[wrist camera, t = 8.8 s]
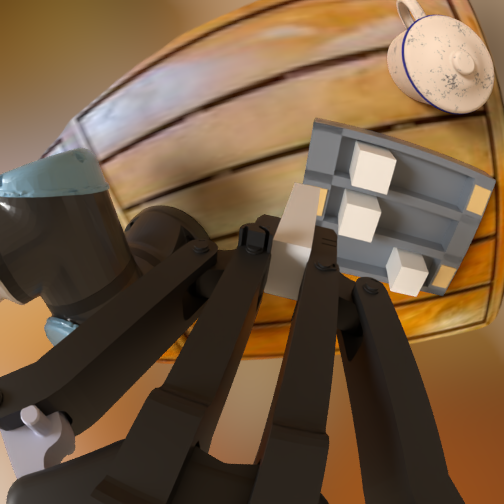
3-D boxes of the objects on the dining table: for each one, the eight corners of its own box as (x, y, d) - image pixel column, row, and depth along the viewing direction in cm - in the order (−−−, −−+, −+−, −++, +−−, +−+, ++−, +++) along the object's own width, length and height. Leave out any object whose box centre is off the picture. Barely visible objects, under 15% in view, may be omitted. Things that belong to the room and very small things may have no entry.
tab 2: (338, 213, 34) (338, 234, 30) (345, 185, 32) (347, 203, 28) (367, 221, 33) (371, 242, 29) (375, 193, 31) (381, 212, 27)
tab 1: (349, 170, 30) (351, 185, 26) (355, 139, 28) (360, 150, 24) (379, 178, 30) (386, 194, 26) (387, 148, 28) (396, 160, 24)
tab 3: (385, 266, 36) (390, 290, 32) (395, 242, 34) (401, 266, 30) (409, 271, 35) (416, 296, 31) (419, 249, 33) (428, 273, 29)
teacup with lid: (469, 93, 22) (523, 106, 13) (405, 115, 27) (440, 133, 17) (423, -1, 18) (461, -30, 9) (356, 19, 22) (368, -11, 13)
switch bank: (291, 245, 39) (287, 260, 36) (315, 117, 30) (313, 121, 27) (437, 280, 36) (443, 296, 33) (483, 171, 27) (496, 181, 24)
